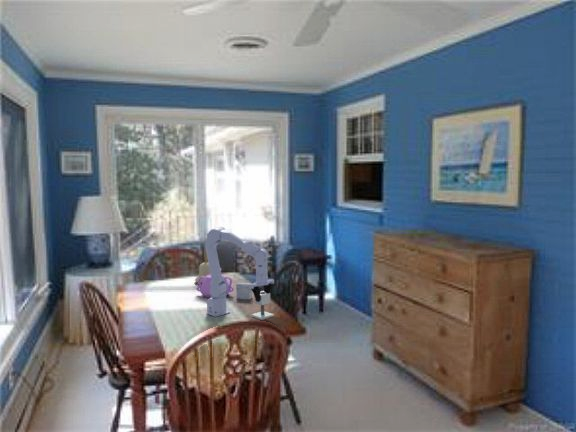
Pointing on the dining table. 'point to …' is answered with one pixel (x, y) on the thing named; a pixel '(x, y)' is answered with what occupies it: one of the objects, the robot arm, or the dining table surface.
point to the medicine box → (244, 291)
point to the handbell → (203, 268)
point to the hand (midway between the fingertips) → (262, 300)
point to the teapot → (206, 285)
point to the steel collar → (263, 298)
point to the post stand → (262, 314)
